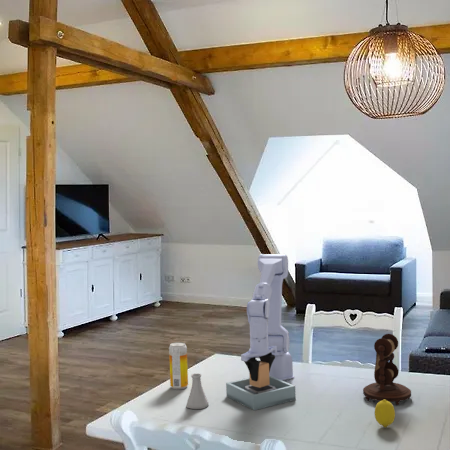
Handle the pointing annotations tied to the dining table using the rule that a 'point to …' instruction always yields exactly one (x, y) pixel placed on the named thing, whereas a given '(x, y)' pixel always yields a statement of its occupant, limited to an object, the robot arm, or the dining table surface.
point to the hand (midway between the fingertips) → (260, 378)
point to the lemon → (384, 413)
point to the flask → (197, 394)
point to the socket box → (260, 393)
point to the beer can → (178, 365)
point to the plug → (261, 375)
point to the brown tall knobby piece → (386, 373)
